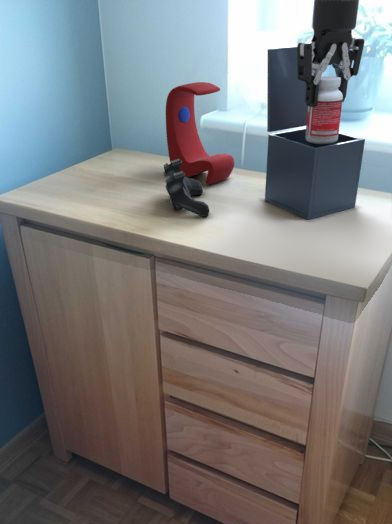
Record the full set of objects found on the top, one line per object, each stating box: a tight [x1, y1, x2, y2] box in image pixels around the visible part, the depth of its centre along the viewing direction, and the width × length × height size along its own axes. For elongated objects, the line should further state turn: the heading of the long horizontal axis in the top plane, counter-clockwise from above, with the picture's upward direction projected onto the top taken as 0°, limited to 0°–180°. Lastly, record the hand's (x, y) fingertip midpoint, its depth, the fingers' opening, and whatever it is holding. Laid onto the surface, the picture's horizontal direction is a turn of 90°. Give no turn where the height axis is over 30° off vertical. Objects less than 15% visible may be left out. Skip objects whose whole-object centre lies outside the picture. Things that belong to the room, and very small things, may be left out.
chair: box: [165, 81, 235, 186], centre depth 126 cm, size 15×7×20 cm, turn 47°
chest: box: [264, 127, 366, 220], centre depth 112 cm, size 14×13×13 cm
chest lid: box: [266, 45, 319, 133], centre depth 109 cm, size 14×13×1 cm
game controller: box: [163, 159, 211, 217], centre depth 114 cm, size 16×7×10 cm, turn 5°
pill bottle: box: [305, 75, 343, 144], centre depth 104 cm, size 6×6×11 cm
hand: (325, 103), depth 103 cm, fingers closed on pill bottle, 6 cm apart
